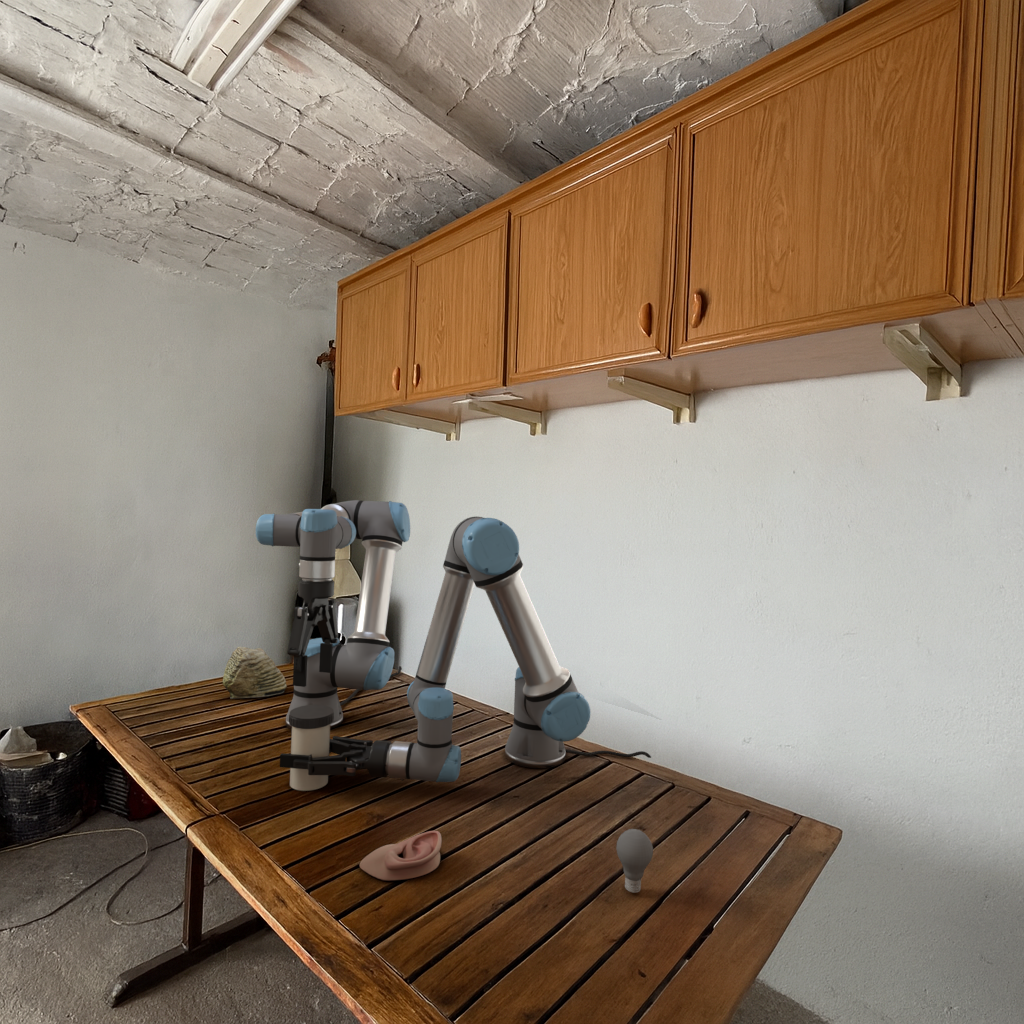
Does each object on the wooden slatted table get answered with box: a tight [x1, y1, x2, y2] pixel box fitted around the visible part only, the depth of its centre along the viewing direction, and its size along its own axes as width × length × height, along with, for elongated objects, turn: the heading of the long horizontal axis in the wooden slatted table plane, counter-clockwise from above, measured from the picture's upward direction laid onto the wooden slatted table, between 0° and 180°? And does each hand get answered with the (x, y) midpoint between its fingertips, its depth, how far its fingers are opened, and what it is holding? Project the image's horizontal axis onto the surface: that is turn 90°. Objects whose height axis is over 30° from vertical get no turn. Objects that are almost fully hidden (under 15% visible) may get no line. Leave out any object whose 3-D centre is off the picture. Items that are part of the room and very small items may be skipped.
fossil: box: [222, 646, 288, 699], centre depth 198 cm, size 9×18×15 cm, turn 132°
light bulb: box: [615, 828, 654, 894], centre depth 106 cm, size 6×6×10 cm
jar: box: [289, 724, 331, 792], centre depth 140 cm, size 8×8×15 cm
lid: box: [289, 705, 334, 729], centre depth 140 cm, size 9×9×2 cm
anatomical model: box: [359, 830, 443, 882], centre depth 111 cm, size 13×4×12 cm
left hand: (313, 678), depth 140 cm, fingers open, 11 cm apart
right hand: (289, 752), depth 140 cm, fingers closed on jar, 8 cm apart
